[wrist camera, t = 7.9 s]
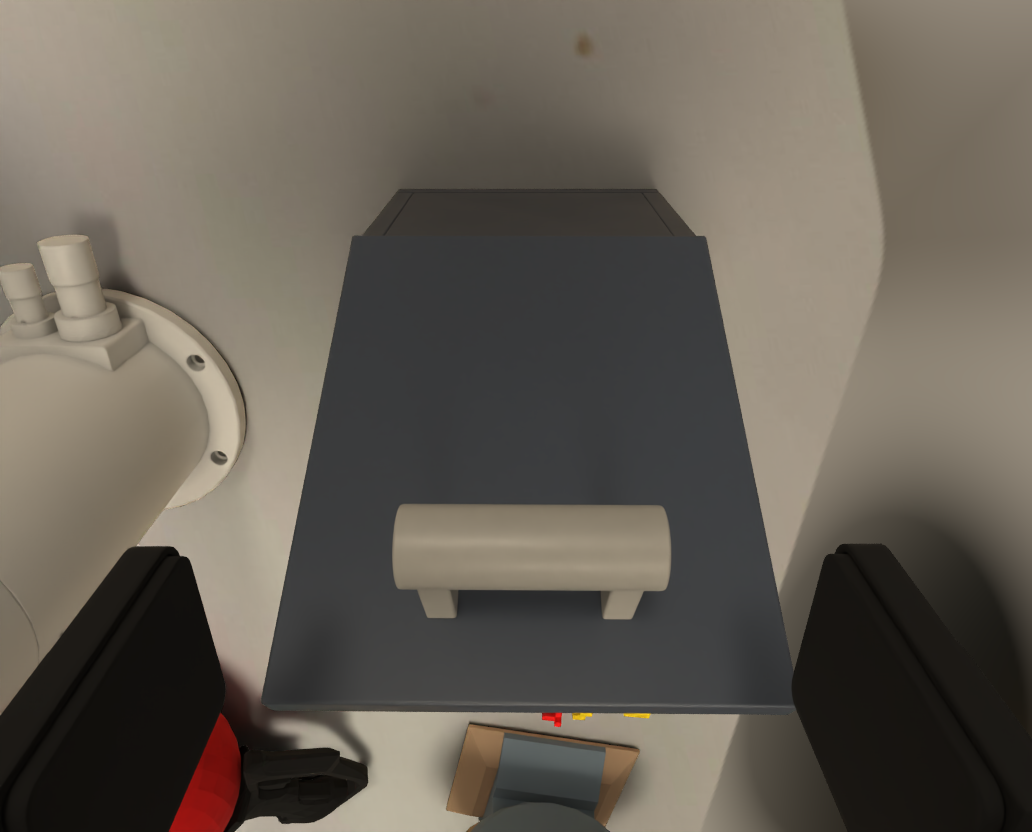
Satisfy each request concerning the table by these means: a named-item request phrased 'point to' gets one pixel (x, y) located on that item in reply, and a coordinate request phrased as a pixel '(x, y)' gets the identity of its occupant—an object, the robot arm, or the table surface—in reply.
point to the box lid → (529, 490)
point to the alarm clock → (537, 781)
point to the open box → (528, 213)
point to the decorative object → (263, 785)
